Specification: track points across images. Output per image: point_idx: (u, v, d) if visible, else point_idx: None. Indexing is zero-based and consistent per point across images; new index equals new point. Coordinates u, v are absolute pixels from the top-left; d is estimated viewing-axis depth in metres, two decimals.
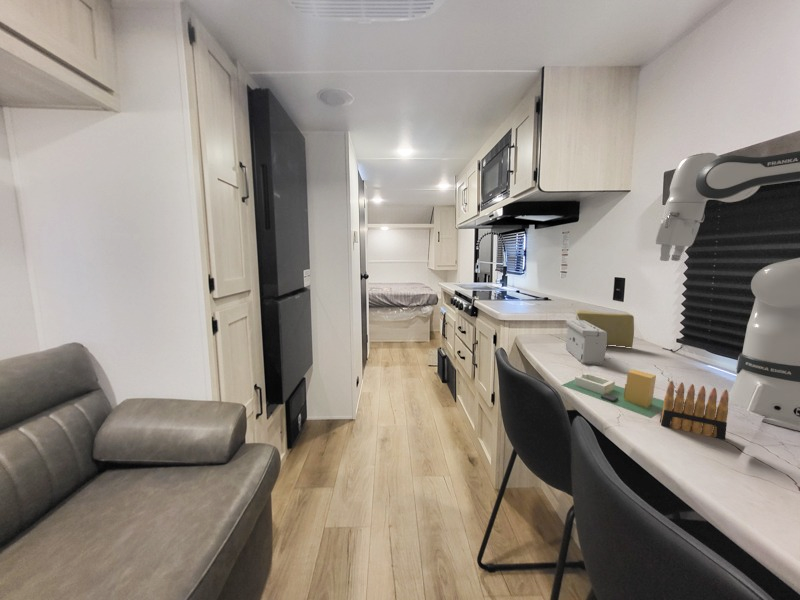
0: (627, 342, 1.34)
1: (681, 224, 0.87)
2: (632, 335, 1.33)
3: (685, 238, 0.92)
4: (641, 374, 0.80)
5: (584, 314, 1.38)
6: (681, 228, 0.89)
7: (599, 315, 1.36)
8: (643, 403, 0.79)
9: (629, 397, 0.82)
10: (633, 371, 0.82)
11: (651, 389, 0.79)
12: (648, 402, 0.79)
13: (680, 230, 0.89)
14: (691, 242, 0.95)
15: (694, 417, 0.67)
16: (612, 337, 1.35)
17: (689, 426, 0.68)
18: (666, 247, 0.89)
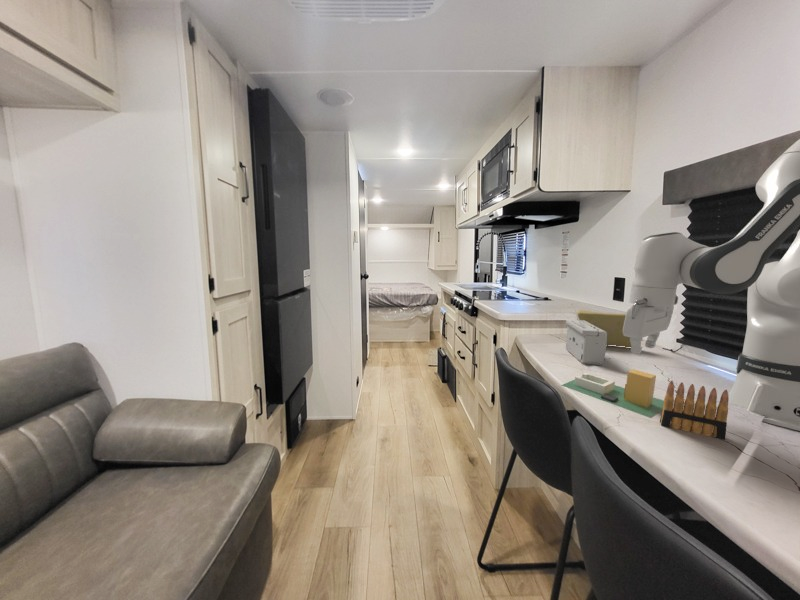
0: (628, 342, 1.33)
1: (650, 313, 0.74)
2: None
3: (658, 325, 0.78)
4: (641, 374, 0.80)
5: (585, 314, 1.38)
6: (651, 316, 0.75)
7: (600, 315, 1.36)
8: (643, 403, 0.79)
9: (629, 397, 0.82)
10: (633, 371, 0.82)
11: (651, 389, 0.79)
12: (648, 402, 0.79)
13: (650, 318, 0.75)
14: (666, 326, 0.82)
15: (694, 417, 0.67)
16: (613, 337, 1.35)
17: (689, 426, 0.68)
18: (636, 339, 0.75)
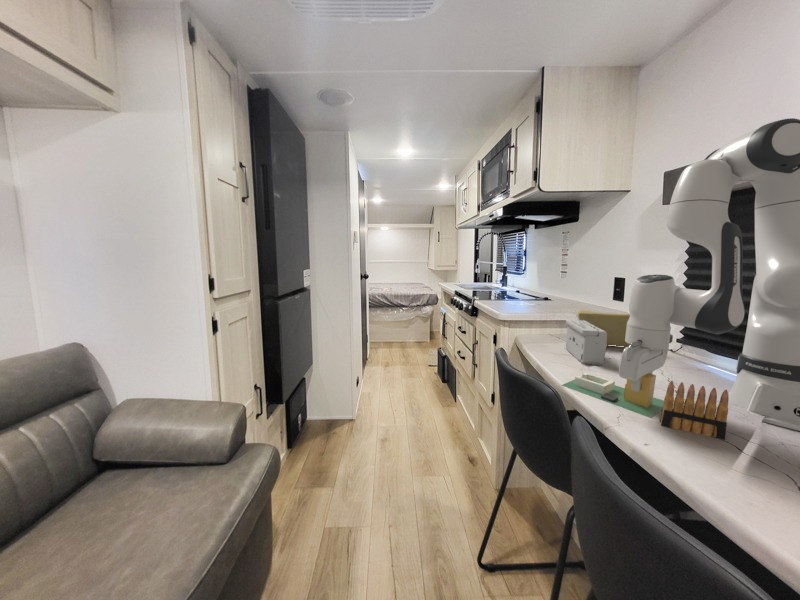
0: None
1: (645, 354, 0.76)
2: None
3: (654, 364, 0.80)
4: None
5: (585, 314, 1.38)
6: (646, 357, 0.77)
7: (600, 315, 1.36)
8: (643, 403, 0.79)
9: (629, 397, 0.82)
10: None
11: (651, 389, 0.79)
12: (648, 402, 0.79)
13: (646, 359, 0.77)
14: (662, 363, 0.83)
15: (694, 417, 0.67)
16: (614, 337, 1.35)
17: (689, 426, 0.68)
18: None
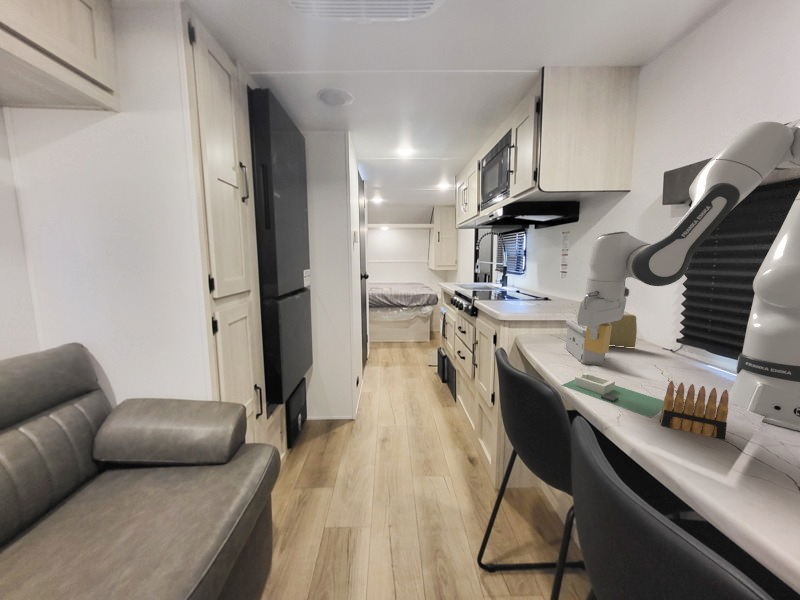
0: (630, 342, 1.33)
1: (601, 304, 0.83)
2: (635, 335, 1.32)
3: (610, 315, 0.87)
4: None
5: None
6: (603, 307, 0.84)
7: None
8: (599, 350, 0.87)
9: (588, 346, 0.89)
10: None
11: (606, 337, 0.86)
12: (604, 349, 0.87)
13: (602, 309, 0.84)
14: (620, 316, 0.91)
15: (694, 417, 0.67)
16: (615, 337, 1.35)
17: (689, 426, 0.68)
18: (593, 326, 0.86)
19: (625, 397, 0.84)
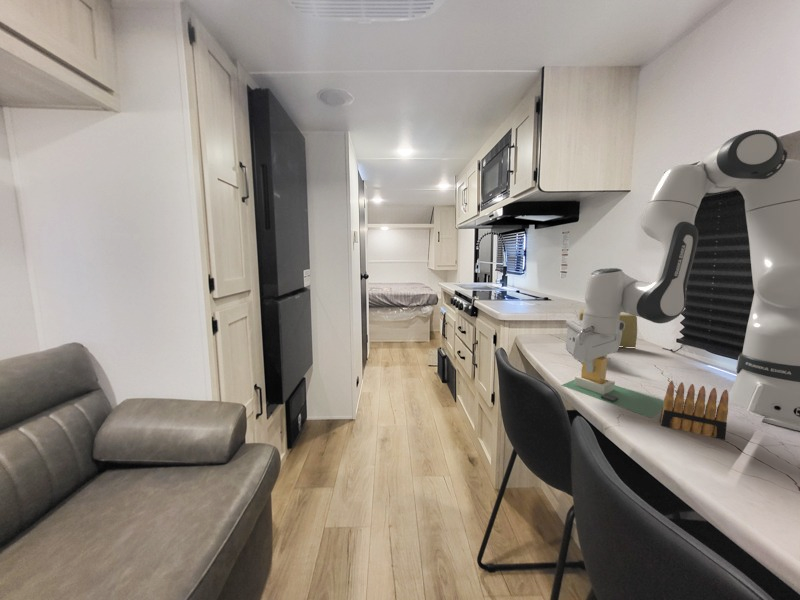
0: (630, 342, 1.33)
1: (596, 339, 0.85)
2: (635, 335, 1.32)
3: (606, 348, 0.89)
4: None
5: None
6: (598, 341, 0.86)
7: None
8: None
9: (585, 378, 0.91)
10: None
11: (603, 370, 0.88)
12: (600, 382, 0.88)
13: (597, 343, 0.86)
14: (616, 348, 0.92)
15: (694, 417, 0.67)
16: None
17: (689, 426, 0.68)
18: (589, 360, 0.87)
19: (625, 397, 0.84)
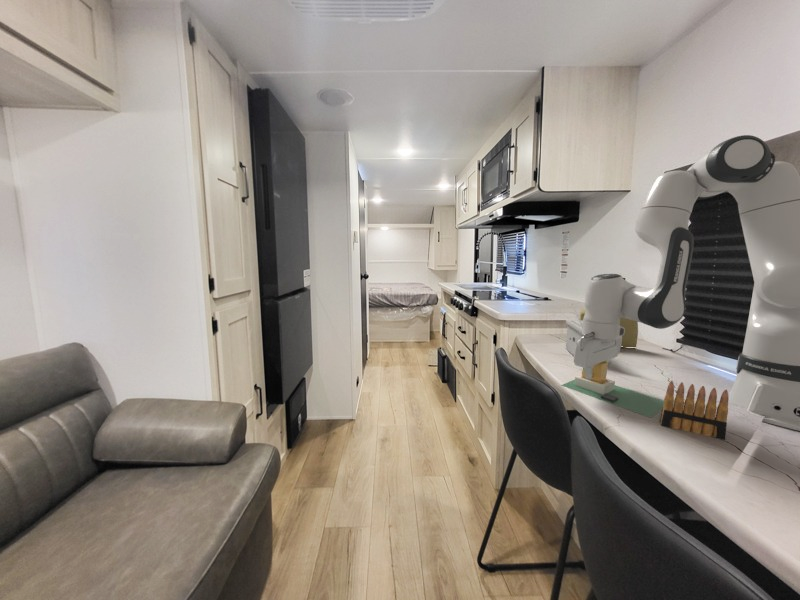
0: (631, 342, 1.33)
1: (597, 345, 0.85)
2: (636, 335, 1.32)
3: (607, 354, 0.89)
4: None
5: None
6: (599, 347, 0.86)
7: None
8: None
9: None
10: None
11: (603, 375, 0.88)
12: None
13: (598, 349, 0.86)
14: (616, 353, 0.92)
15: (694, 417, 0.67)
16: None
17: (689, 426, 0.68)
18: None
19: (625, 397, 0.84)
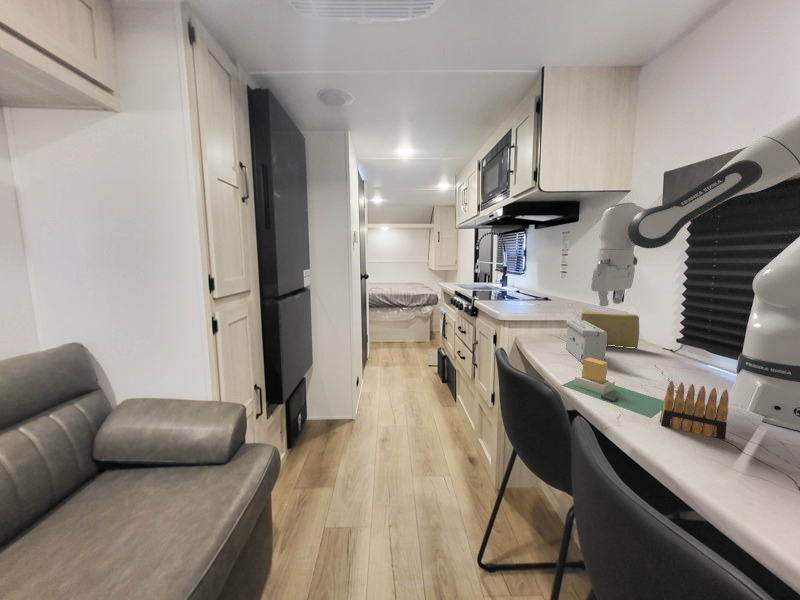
0: (632, 343, 1.33)
1: (613, 270, 0.89)
2: (637, 336, 1.32)
3: (621, 282, 0.93)
4: (595, 361, 0.89)
5: (589, 314, 1.37)
6: (614, 274, 0.90)
7: (604, 315, 1.35)
8: None
9: None
10: (588, 359, 0.91)
11: (603, 375, 0.88)
12: None
13: (614, 276, 0.90)
14: (630, 284, 0.97)
15: (694, 417, 0.67)
16: (617, 337, 1.34)
17: (689, 426, 0.68)
18: (603, 293, 0.90)
19: (625, 397, 0.84)
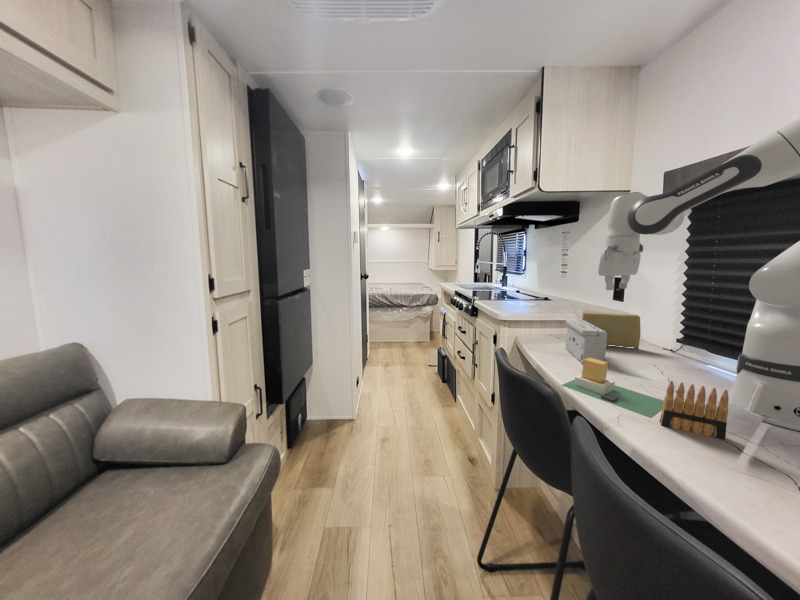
0: (633, 343, 1.32)
1: (619, 256, 0.94)
2: (638, 336, 1.32)
3: (627, 268, 0.98)
4: (595, 361, 0.89)
5: (590, 314, 1.37)
6: (621, 259, 0.96)
7: (605, 315, 1.35)
8: None
9: None
10: (588, 359, 0.91)
11: (603, 375, 0.88)
12: None
13: (620, 261, 0.95)
14: (635, 271, 1.02)
15: (694, 417, 0.67)
16: (618, 337, 1.34)
17: (689, 426, 0.68)
18: (609, 278, 0.96)
19: (625, 397, 0.84)
